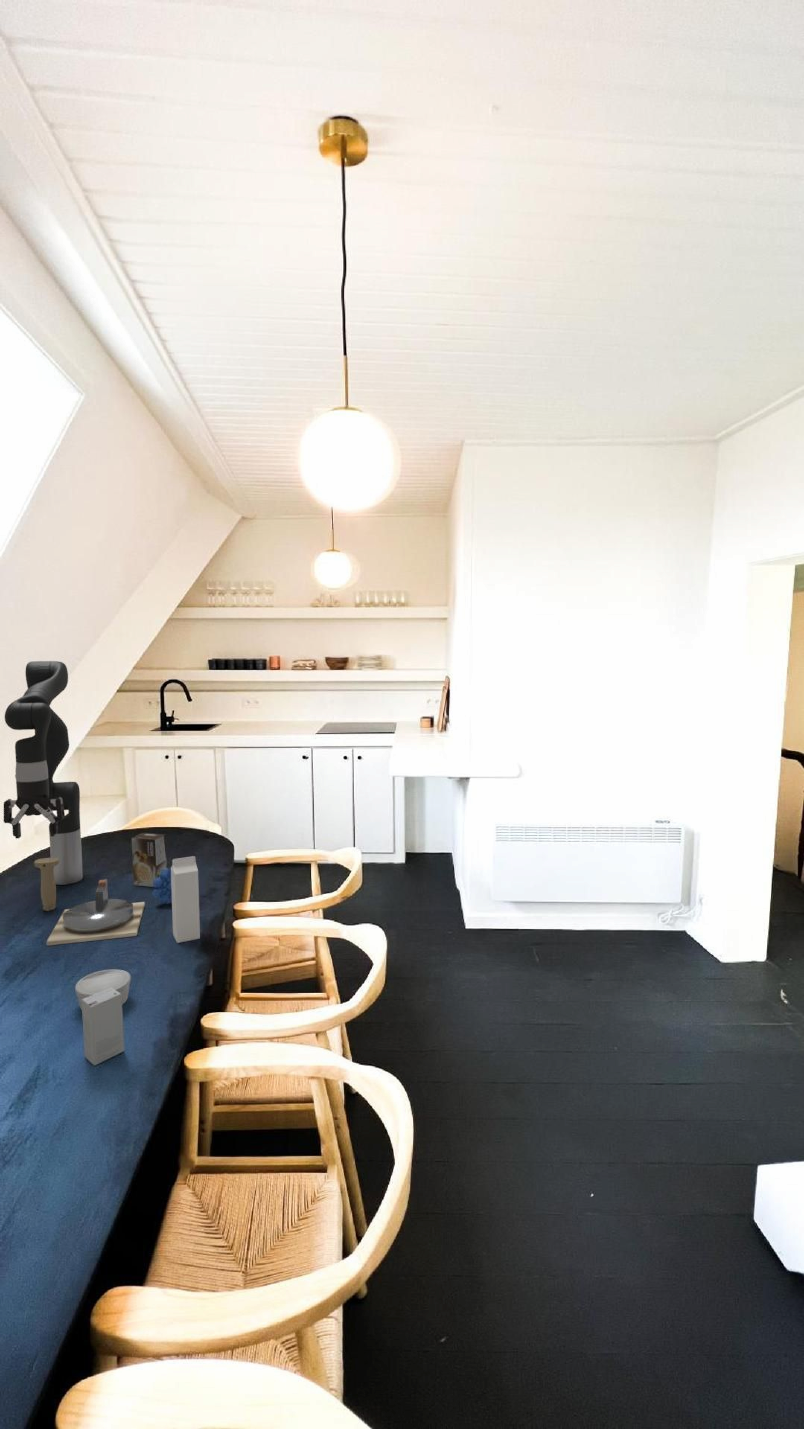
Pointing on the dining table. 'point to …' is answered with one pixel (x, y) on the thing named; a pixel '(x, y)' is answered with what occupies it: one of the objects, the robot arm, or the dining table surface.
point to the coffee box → (148, 858)
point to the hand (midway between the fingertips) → (35, 836)
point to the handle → (47, 882)
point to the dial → (98, 913)
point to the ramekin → (103, 984)
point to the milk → (185, 899)
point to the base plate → (126, 930)
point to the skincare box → (103, 1025)
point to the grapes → (163, 887)
